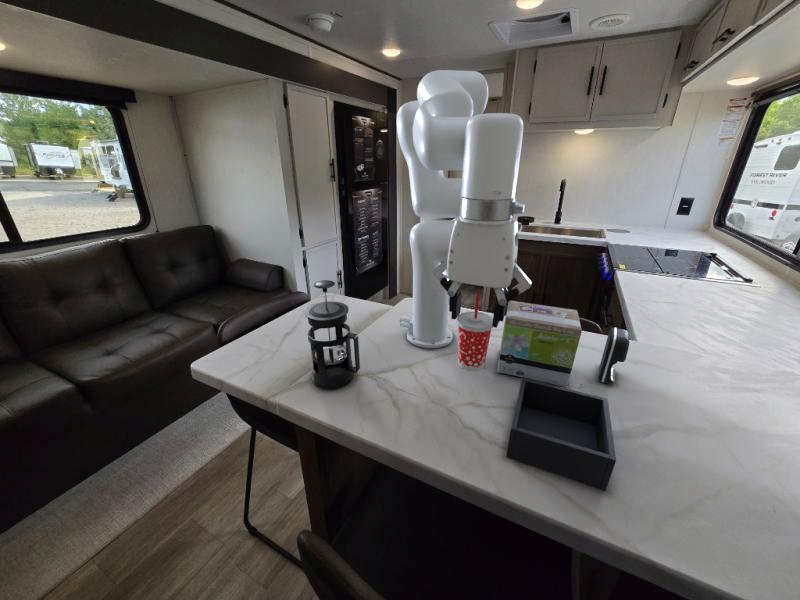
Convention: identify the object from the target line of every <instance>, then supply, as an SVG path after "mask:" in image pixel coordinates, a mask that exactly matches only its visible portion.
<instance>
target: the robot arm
mask: <svg viewBox="0 0 800 600" xmlns="http://www.w3.org/2000/svg"><path fill="white" fill-rule="evenodd" d="M416 99H417V100H411V101H408V102H405V103H403V104H402V105H401V106H400V107H399V108H398V111H397V114H396V132H397V139H398V143H399V147H400V149H401V152H402V155H403V157H404V159H405V161H406V163H407V164H406V165H407V168H408V169H407V170H408V176H409V186H410V196H411V206H412V210H413V212H414V214H415V215H416V216H417V217H418V218H422V219H440V220H424V221H420V222H418V223H415V225H413V226H412V228H411V229H410V233H409V246H410V252H411V253H410V254H411V262H412V316H411V317H408V316H403V315H400V318H399V326H400V327H402V328H407V331H406V339H407V340H408V342H410V344H412V345H414V346H416V347H419V348H422V349H423V348H424V349H439V348H443V347H446V346H448V345H449V344H450V343H451V342H452V341H453V339H454V333H453V331H452V330H451V329H450V328H449V327H448V324H449V313H451V317H450V318H451V320H457V317H458V315H459V314H461V309H462V307H461V306H462V297H463V296H462V295H463V292H462V291H461V289H460V288H461V287H462V285H463V284H466V285H473V286H478V287H486V288H492V289H494V292H495V297H496V299H497V300H496V302H495V304H494V307H493V314H492V315H493V316H492V318H493V323H492V326H493V328H496V329H497V328H498V326H499V323H500V322H504V321H505V316H506V308H507V307H506V305H507V304H508V302H509V301H513V300H514V299H516V298H517V297H518V296H519V295H521V294H523V293H524V292H526V291H527V290H529V289H530V288H531V287H532V283H533V282H532V280H531V279H530V278H529V277H528V276H527V274H526V273H525V272H524V271H523V269H522V268H521V267H520V266H519V265H518V263H517V261H518V249H519V247H518V246H519V223H518V220H517V219H514V218H513V217H515V215H522V214H523V215H524V212H525V203H520V202H517V200H516V192H517V191H516V190H517V183H518V176H519V167H520V160H521V154H522V153H521V151H522V144H523V136H524V126H525V125H524V121H523V118H522V117H521V116H520V115H518V114H515V113H510V112H509V113H508V112H491V113H489V112H488V113H484V112H485V110H486V108H487V105H488V101H489V85H488V81H487V79H486V77H485V76H484V75H483V73H481V72H479V71H477V70H455V69H454V70H453V69H438V70H433V71H431V72H428V73H427V74H425V75H424V76H423V77H422V79H421V80H419V83H418V86H417V91H416ZM444 171H462V176H461V178H460V177H457V178H456V177H446V176H445V175H444ZM441 219H442V220H441ZM448 219H449V220H448ZM514 279H515V280H516V282H517V283H518V284H516V285H515V286H514V285H513V286H512V287H510V286H511V283H512V281H513V280H514ZM509 287H510V288H509ZM508 288H509V289H508Z"/></svg>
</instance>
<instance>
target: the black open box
mask: <svg viewBox="0 0 800 600" xmlns="http://www.w3.org/2000/svg"><path fill="white" fill-rule="evenodd" d="M608 399H609V398H606V397H603V396H599V395H595V394H590V393H586V392H583V391H578V390H574V389H570V388H566V387H563V386H559V385H555V384H551V383H547V382H542V381H537V380H533V379H529V378H523V377H521V381H520V387H519V390H518V395H517V400H516V404H515V408H514V413H513V416H512V417H513V418H512V421H511V428H510V432H509V438H508V442H507V443H508V444H507V449H506V454H505V455H506V456H505V458H506V459H509V460H511V461H512V460H513V461H515V462H517V463H521V464H524V465H527V466H530V467H533V468H536V469H539V470H542V471H544V472H547V473H550V474H554V475H555V476H560V477H563V478H564V479H565V478H566V479H568V480H571V481H573V482H577V483H581V484H583V485H585V486H589V487H591V488H594V489H598V490H601V491H603V492H606V491H607V487H608V485H609V482H610V479H611V477H612V473H613V471H614V468H615V464H616V462H617V458H616V451H615V449H616V448H615V442H614V435H613V427H612V421H611V413H610V406H609V400H608Z"/></svg>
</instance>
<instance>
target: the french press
mask: <svg viewBox="0 0 800 600" xmlns="http://www.w3.org/2000/svg"><path fill="white" fill-rule="evenodd" d="M335 285H336V283H335V282H334V281H333V280H328V279H324V280H319V281H317V282H315V283H313V287H314V288H316V289H321V290H322V293H323V295H324V301H321V302H317V303H314V304H311V305H309V306H308V307H306V309H305V310H304V316H305V318H307V323H308V324H309V326H311V327H310V328H308V330H307V340H308V343H309V344H310V352H311V360H312V365H311V372H312V375H311V376H312V377H311V380H312V384H313V385H314V386H315V387H316V388H318V389H321V390H324V391H325V390H326V391H334V390H339V389H343V388H345V387H347V386H348V385H350V384H351V383H352V382H353V380H354V379H355V374H357V373H358V371H359V370H360V369H361V361H360V345H359V344H360V343H359V334H358V333H353V332H351V327H350V326H349V324H347V323H346V321H347V320H348V313H349V311H350V309H349V306H348V305H347V304H346V303H343V302H340V301H332V300H331V301H329V300H328V299H327V298H328V297H327V293H328V289H331V288H332V287H334V286H335ZM332 328H334V330H335V331H334V333H335V339H332V338H331V331H330V330H331V329H332ZM321 329H327V335H328V340H318V339H316V336H315V332H316V331H318V330H321ZM343 330H346V331H347V333H346V334H345V335H344V333H343V332H344V331H343ZM331 339H332V340H331ZM351 340H353V351H354V353H353V354H354V364H353V360H352V346H351ZM330 368H340V369H341V368H342V369H344V370H345V371H344V372H343V373H340V374H336V375H328V376H327V369H330Z"/></svg>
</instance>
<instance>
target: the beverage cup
mask: <svg viewBox="0 0 800 600" xmlns="http://www.w3.org/2000/svg"><path fill="white" fill-rule="evenodd" d="M480 293H481V291H480V290H477V291H476V295H475V304H474V305H475V306H474V310H473V311H472V310H470V311H464V312H460V314H459V315H458V317H457V318H456V324H457V327H458V329H457V330H458V331H457V364H458V367H460V368H461V369H462V370H463V371H466V372H471V373H473V372H474V373H476V372H477V373H478V372H480V371H482V370H483V369H484V368H485V366H486V365H485V364H486V360H487V353H488V347H489V343H490V338H491V332H492V329H493V328H494V327H493V326H492V323H493V316H491V315H490V314H488V313H486V312H482V311H479V302H480Z"/></svg>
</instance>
